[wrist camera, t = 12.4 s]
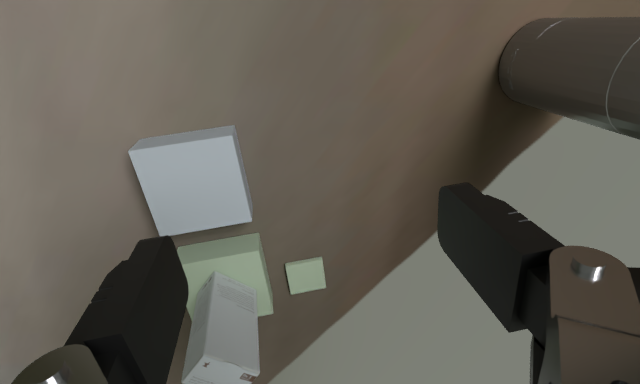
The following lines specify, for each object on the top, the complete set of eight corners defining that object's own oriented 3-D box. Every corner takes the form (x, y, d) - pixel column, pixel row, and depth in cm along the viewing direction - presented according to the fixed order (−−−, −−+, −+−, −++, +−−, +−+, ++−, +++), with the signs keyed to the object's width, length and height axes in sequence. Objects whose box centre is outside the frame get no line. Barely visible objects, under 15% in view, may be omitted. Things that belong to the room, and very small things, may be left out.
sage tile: (321, 256, 48) (322, 259, 47) (325, 285, 50) (326, 287, 50) (285, 263, 47) (285, 266, 47) (290, 291, 50) (290, 294, 49)
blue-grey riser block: (234, 124, 38) (232, 135, 35) (252, 204, 43) (251, 221, 39) (140, 139, 38) (128, 151, 34) (168, 219, 42) (160, 237, 38)
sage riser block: (258, 232, 45) (258, 250, 41) (272, 292, 49) (273, 313, 46) (178, 246, 44) (171, 266, 40) (199, 306, 48) (194, 329, 45)
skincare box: (196, 293, 42) (174, 386, 32) (215, 267, 41) (200, 354, 30) (241, 312, 45) (235, 404, 34) (260, 287, 44) (261, 375, 33)
